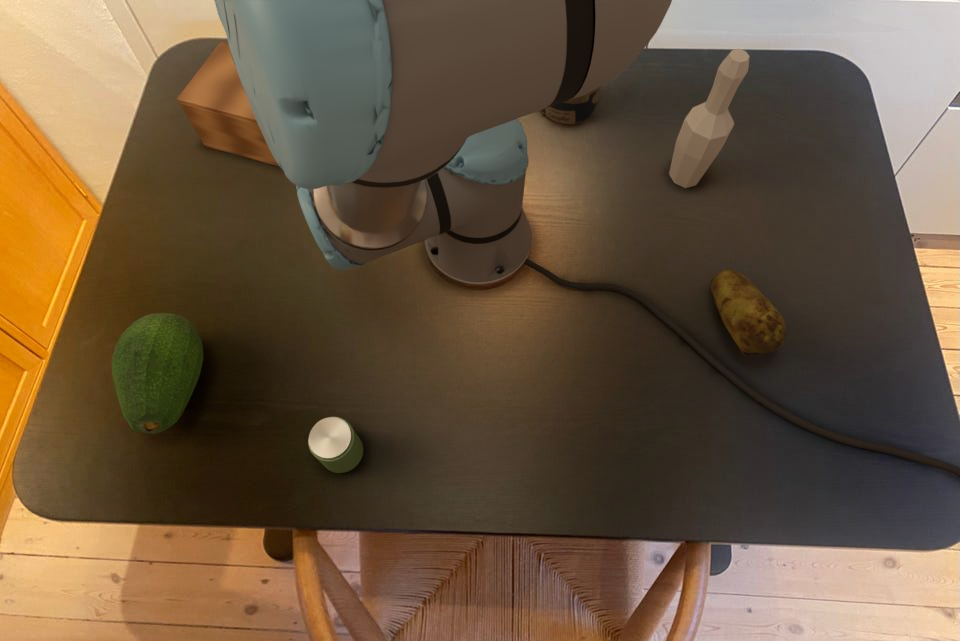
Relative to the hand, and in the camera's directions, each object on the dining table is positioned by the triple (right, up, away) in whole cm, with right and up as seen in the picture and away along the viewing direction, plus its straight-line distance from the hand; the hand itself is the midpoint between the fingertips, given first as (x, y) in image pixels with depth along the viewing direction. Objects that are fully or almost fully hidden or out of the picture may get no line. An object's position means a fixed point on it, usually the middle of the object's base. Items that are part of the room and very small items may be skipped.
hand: (320, 112), depth 90 cm
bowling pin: (+55, -9, +3) cm, 56 cm away
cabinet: (-11, 0, +8) cm, 14 cm away
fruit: (-15, -39, -12) cm, 44 cm away
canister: (+38, +4, +10) cm, 39 cm away
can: (+7, -47, -16) cm, 50 cm away
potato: (+58, -31, -8) cm, 67 cm away
